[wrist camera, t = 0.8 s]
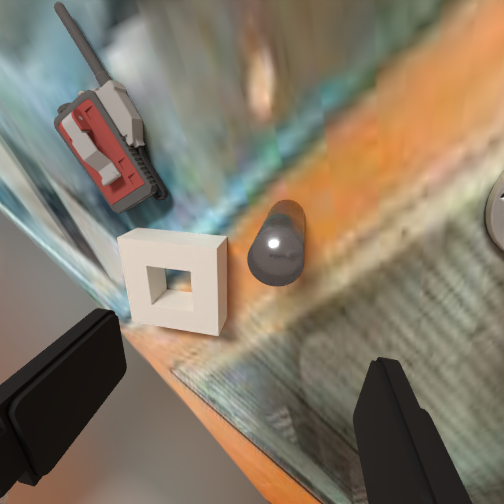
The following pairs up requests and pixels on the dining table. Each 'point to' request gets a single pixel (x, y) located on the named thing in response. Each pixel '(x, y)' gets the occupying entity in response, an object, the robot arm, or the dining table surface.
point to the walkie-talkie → (107, 134)
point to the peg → (279, 245)
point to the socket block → (179, 258)
